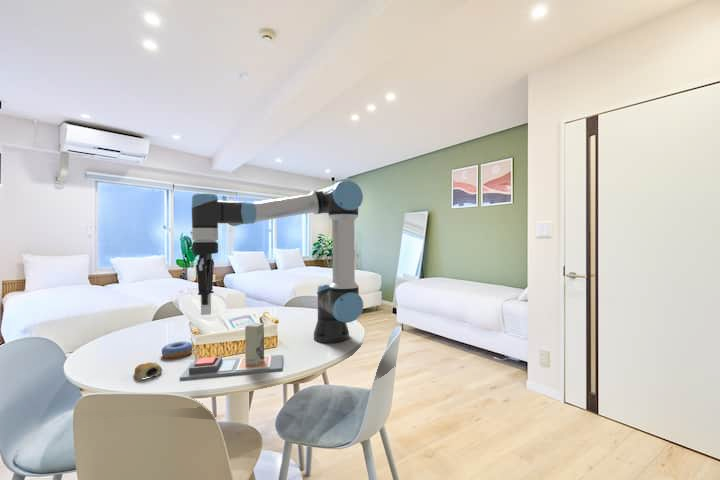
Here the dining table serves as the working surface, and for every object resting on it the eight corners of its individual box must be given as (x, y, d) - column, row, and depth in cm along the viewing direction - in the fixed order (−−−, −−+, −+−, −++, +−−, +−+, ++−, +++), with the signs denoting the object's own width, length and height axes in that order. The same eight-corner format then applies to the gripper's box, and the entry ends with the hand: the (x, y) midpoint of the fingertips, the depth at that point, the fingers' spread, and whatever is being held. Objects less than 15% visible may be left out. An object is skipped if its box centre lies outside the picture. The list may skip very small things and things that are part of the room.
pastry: (129, 374, 100) (129, 362, 100) (152, 367, 105) (152, 356, 105) (140, 382, 94) (140, 369, 94) (164, 374, 100) (165, 362, 100)
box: (257, 366, 102) (257, 326, 102) (244, 365, 103) (244, 326, 103) (264, 360, 108) (264, 322, 108) (252, 359, 108) (252, 322, 108)
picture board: (282, 356, 113) (282, 349, 113) (282, 370, 102) (282, 362, 102) (191, 364, 107) (191, 357, 107) (179, 380, 95) (179, 371, 95)
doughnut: (170, 349, 121) (170, 338, 121) (197, 349, 122) (197, 338, 122) (155, 362, 111) (155, 349, 111) (185, 362, 112) (185, 350, 112)
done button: (216, 362, 105) (216, 356, 105) (212, 368, 100) (212, 362, 100) (199, 364, 104) (199, 358, 104) (195, 370, 99) (195, 363, 99)
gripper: (198, 241, 108) (199, 310, 108) (186, 241, 95) (187, 320, 95) (221, 241, 109) (222, 309, 109) (213, 241, 97) (213, 318, 97)
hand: (206, 314), depth 102 cm, fingers closed
